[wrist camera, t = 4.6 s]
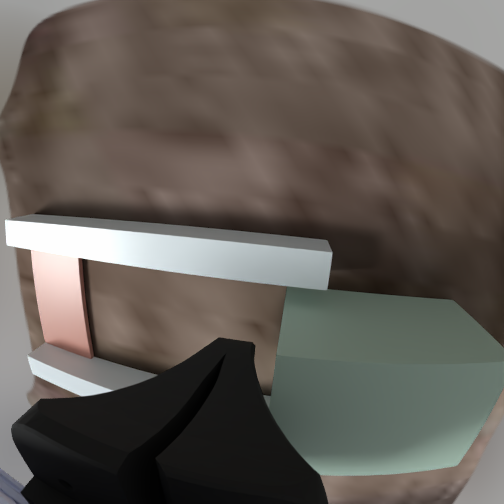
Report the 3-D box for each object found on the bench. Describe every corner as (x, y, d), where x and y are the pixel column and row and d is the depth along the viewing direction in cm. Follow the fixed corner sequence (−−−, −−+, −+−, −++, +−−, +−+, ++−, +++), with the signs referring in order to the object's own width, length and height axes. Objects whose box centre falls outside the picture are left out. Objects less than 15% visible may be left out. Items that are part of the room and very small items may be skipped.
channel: (296, 417, 13) (294, 447, 11) (52, 357, 15) (32, 373, 13) (327, 240, 11) (332, 252, 9) (33, 213, 13) (5, 219, 11)
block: (423, 389, 12) (457, 465, 7) (274, 381, 13) (259, 469, 8) (453, 299, 11) (515, 360, 6) (286, 284, 12) (276, 354, 7)
